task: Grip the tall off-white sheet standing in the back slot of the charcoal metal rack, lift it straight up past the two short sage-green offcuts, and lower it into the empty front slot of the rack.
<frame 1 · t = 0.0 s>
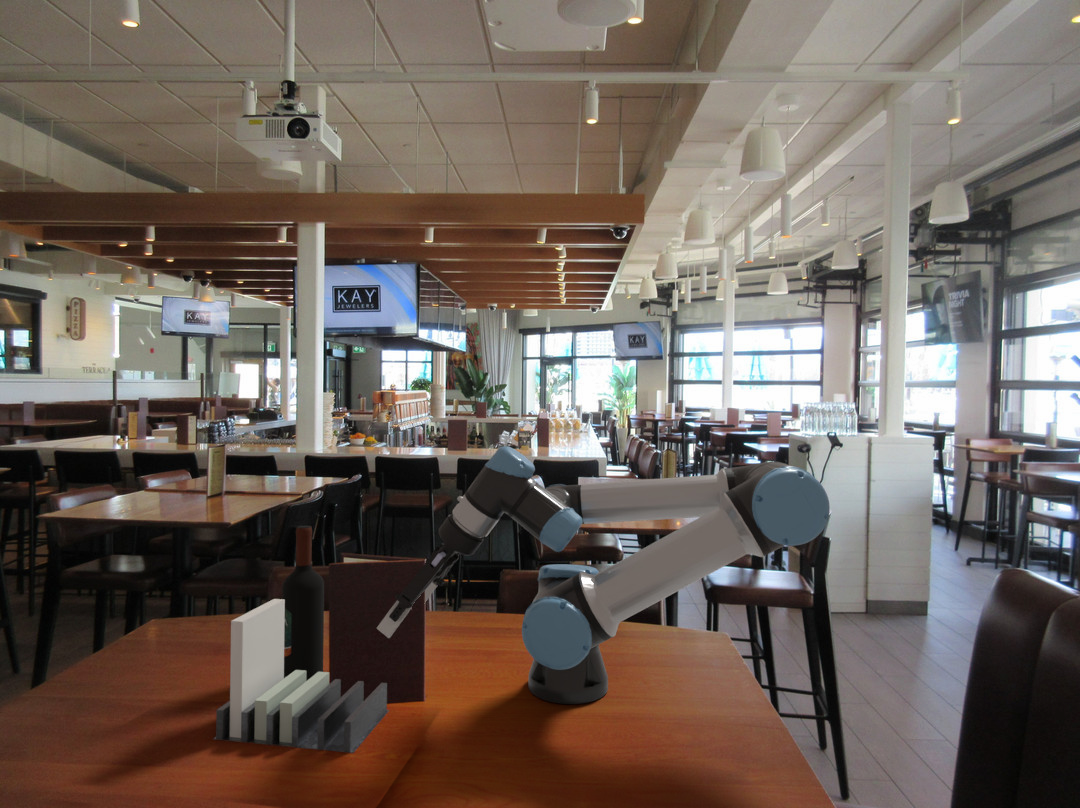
hand: (398, 619, 116), 15 cm above the table, tool tilted 35°, fingers open, 13 cm apart
wine bottle: (302, 685, 124), on the table
tall sheet: (258, 719, 107), point 1 cm above the table, touching rack
front offcut: (305, 723, 106), point 1 cm above the table, touching rack
back offcut: (281, 721, 107), point 1 cm above the table, touching rack
rack: (305, 732, 106), on the table
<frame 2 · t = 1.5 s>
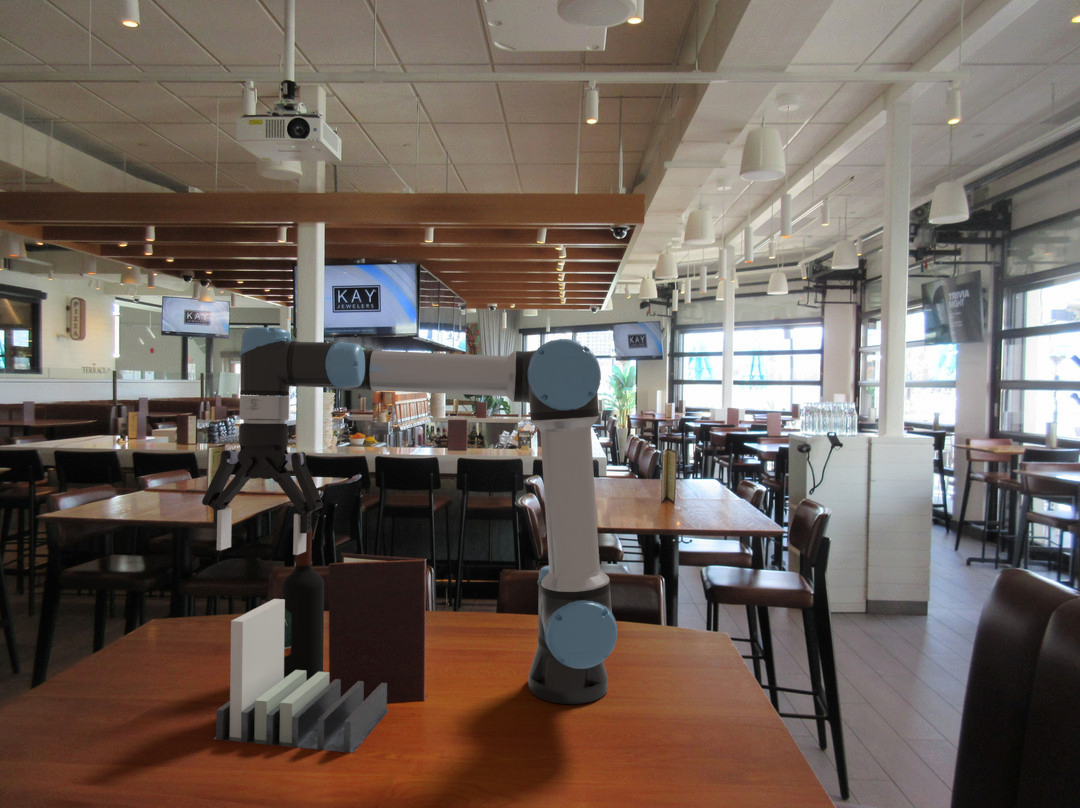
hand: (261, 551, 108), 29 cm above the table, tool pointing down, fingers open, 13 cm apart
nothing on the table moved.
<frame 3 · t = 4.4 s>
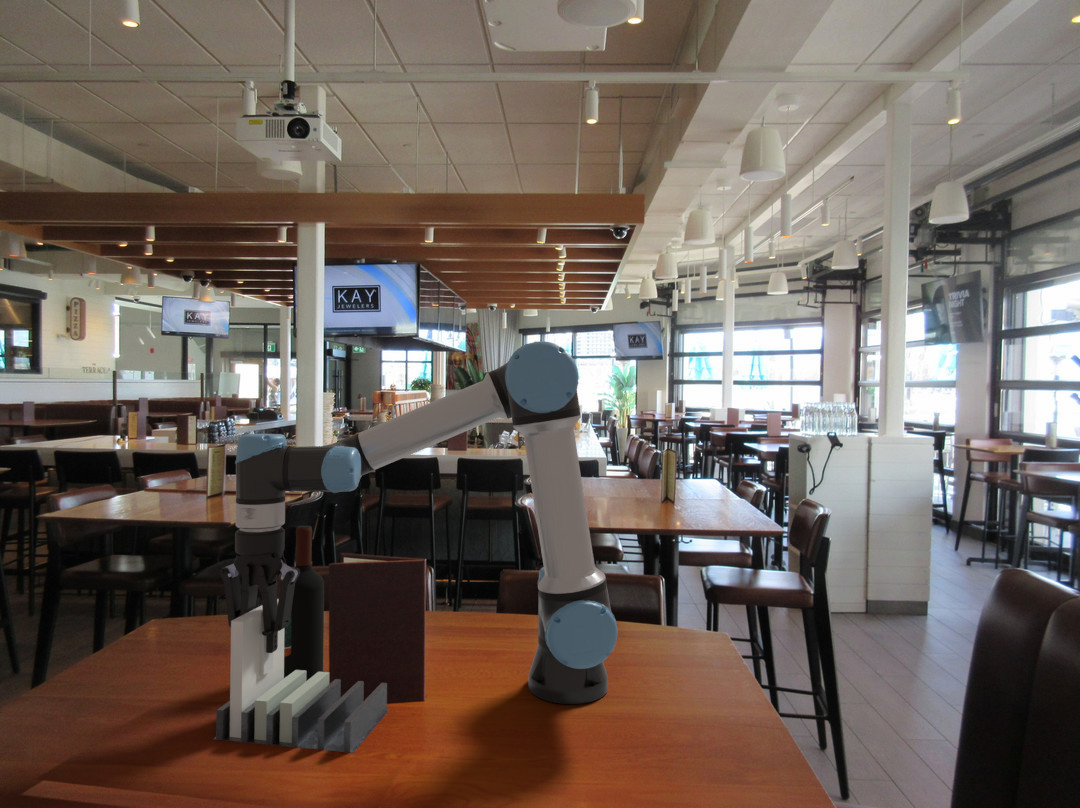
hand: (258, 670, 107), 9 cm above the table, tool pointing down, fingers closed on tall sheet, 2 cm apart
tall sheet: (258, 719, 107), point 1 cm above the table, touching gripper, rack
everything else where it was.
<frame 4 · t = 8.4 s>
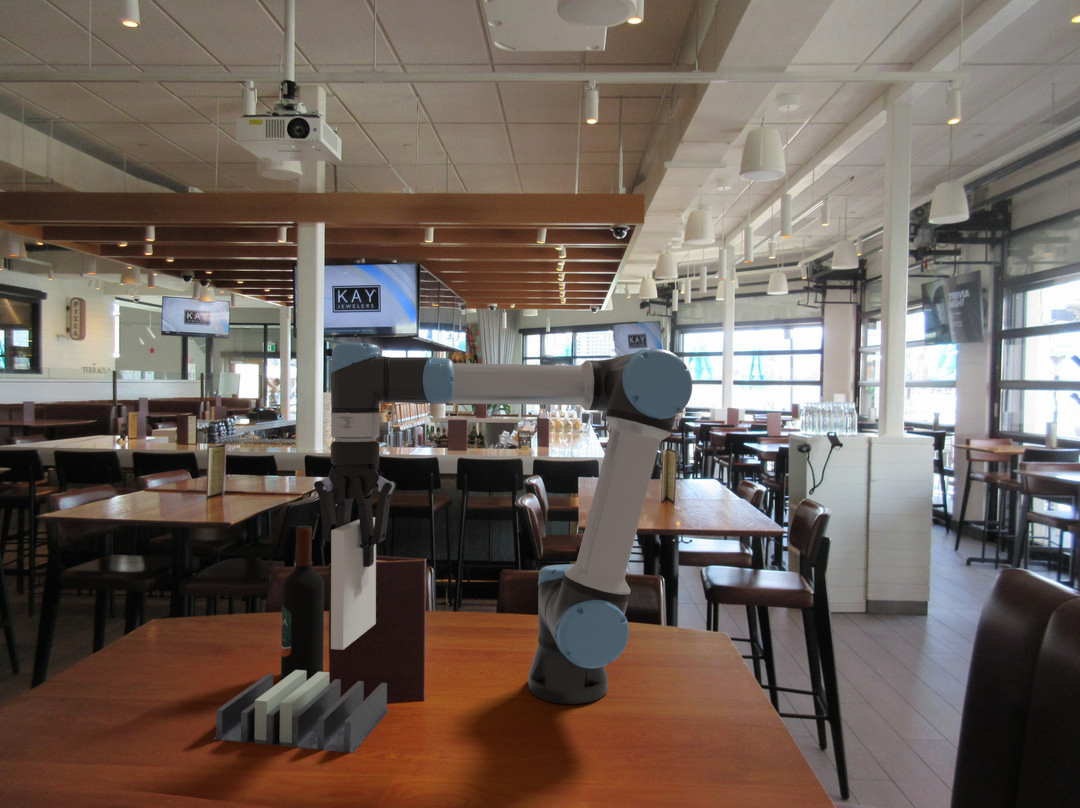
hand: (354, 586, 105), 24 cm above the table, tool pointing down, fingers closed on tall sheet, 2 cm apart
tall sheet: (354, 635, 105), point 16 cm above the table, touching gripper
everything else where it was.
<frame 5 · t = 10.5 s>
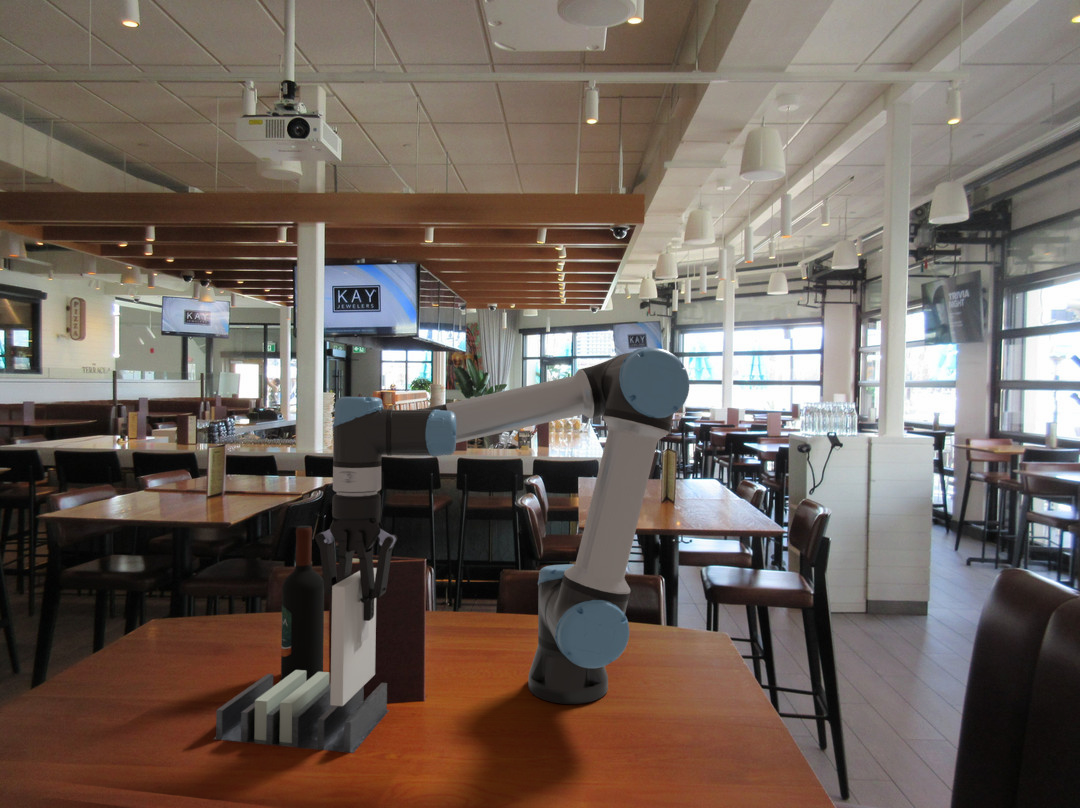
hand: (354, 639, 105), 16 cm above the table, tool pointing down, fingers closed on tall sheet, 2 cm apart
tall sheet: (353, 688, 105), point 8 cm above the table, touching gripper
everything else where it was.
when the fingers open (11 cm above the table, at t = 12.2 s): tall sheet drops 1 cm, resting on rack.
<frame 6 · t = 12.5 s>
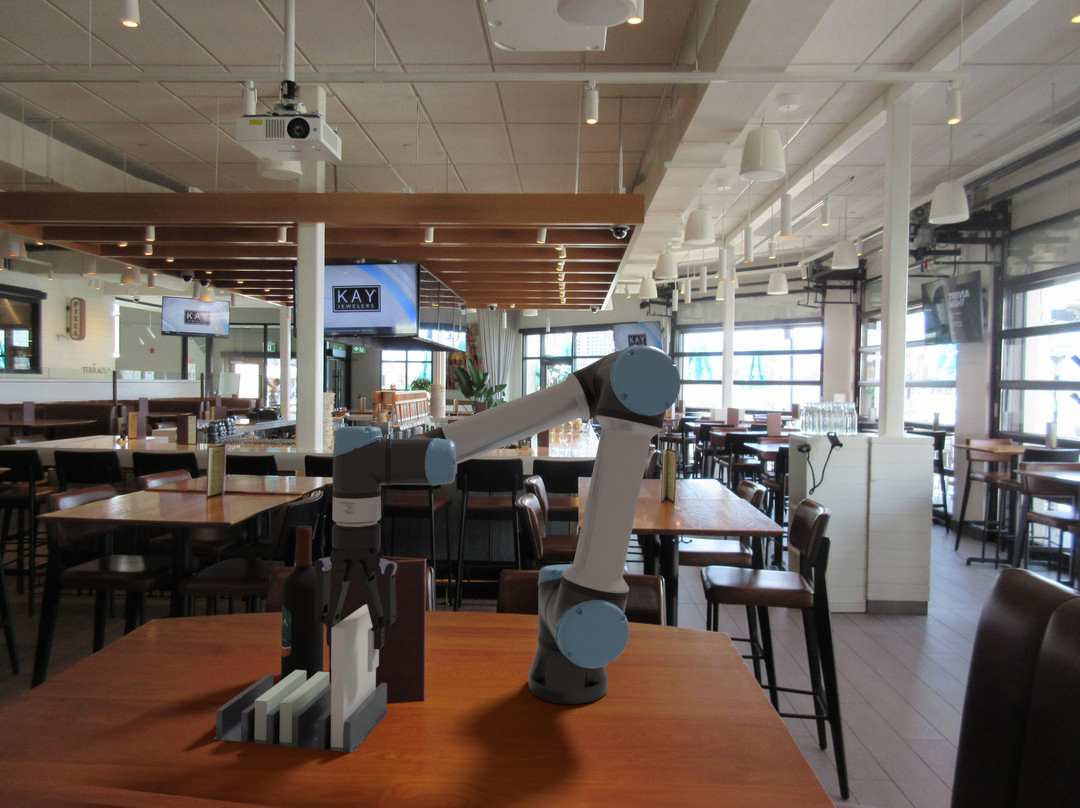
hand: (355, 666, 105), 11 cm above the table, tool pointing down, fingers open, 5 cm apart
tall sheet: (354, 728, 105), point 2 cm above the table, touching rack
everything else where it was.
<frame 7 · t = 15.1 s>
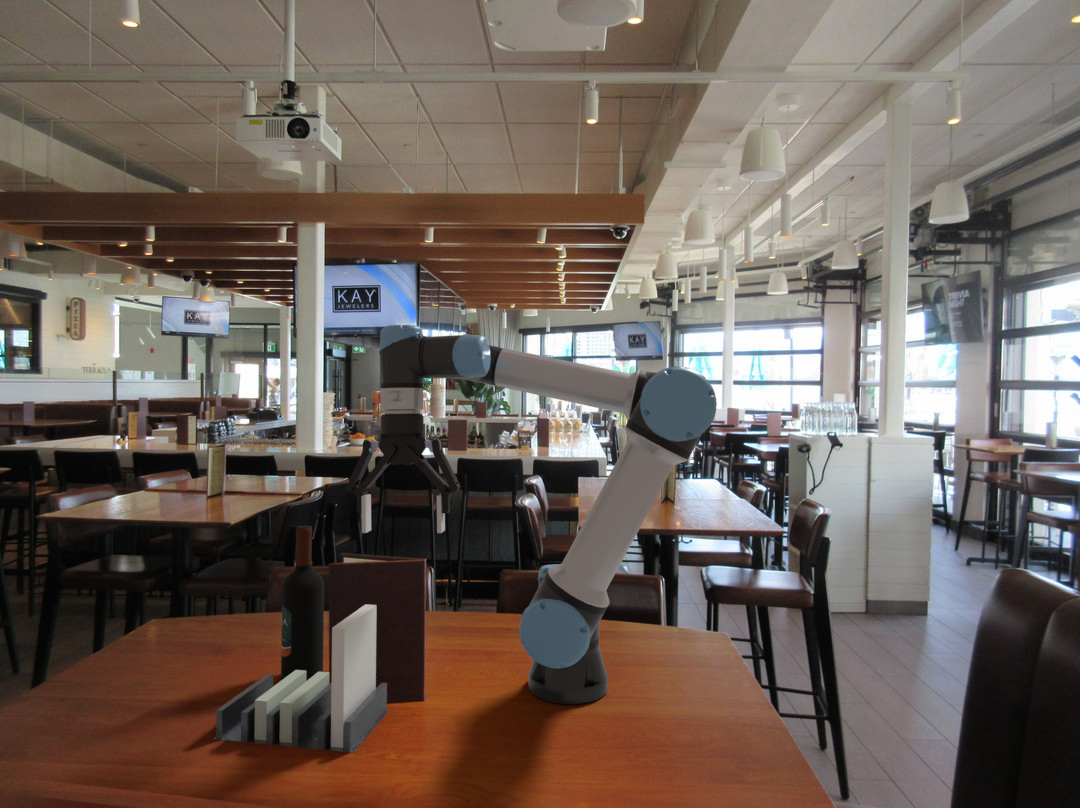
hand: (403, 531, 116), 31 cm above the table, tool pointing down, fingers open, 13 cm apart
nothing on the table moved.
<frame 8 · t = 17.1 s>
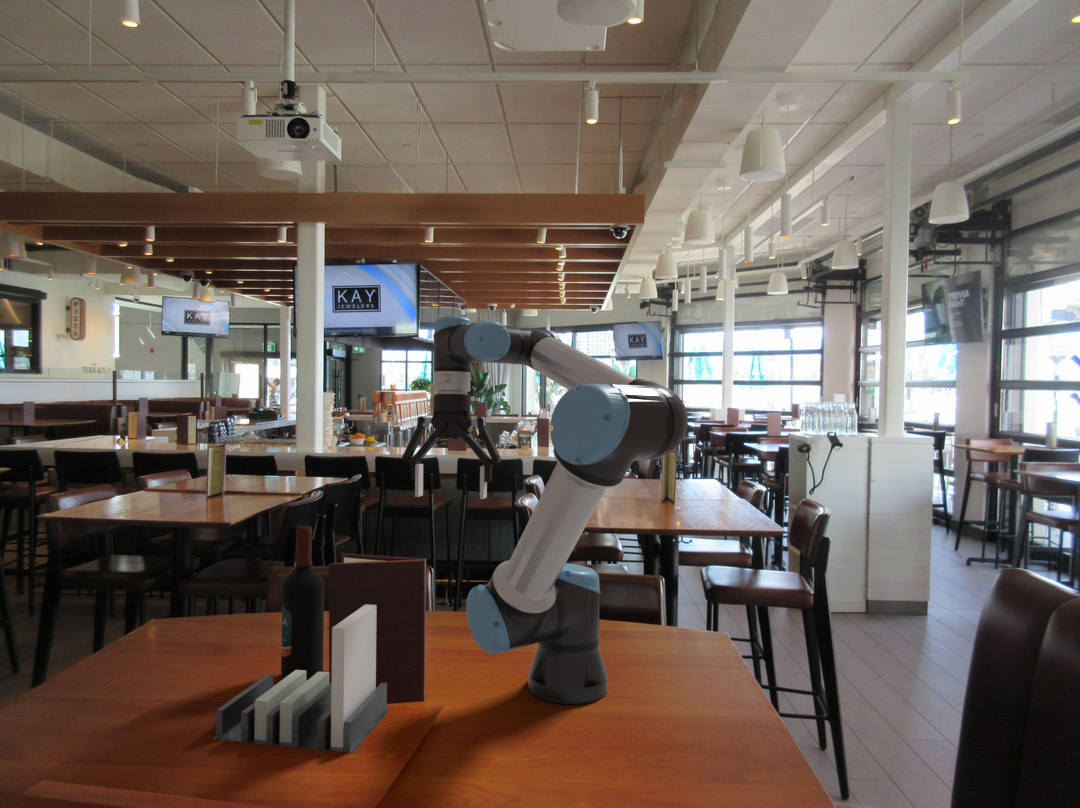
hand: (450, 497, 134), 35 cm above the table, tool pointing down, fingers open, 13 cm apart
nothing on the table moved.
at the end: tall sheet 0.0 cm from the target spot, point 1.5 cm above the table; tall sheet tilted 0°; front offcut moved 0.1 cm from its start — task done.
